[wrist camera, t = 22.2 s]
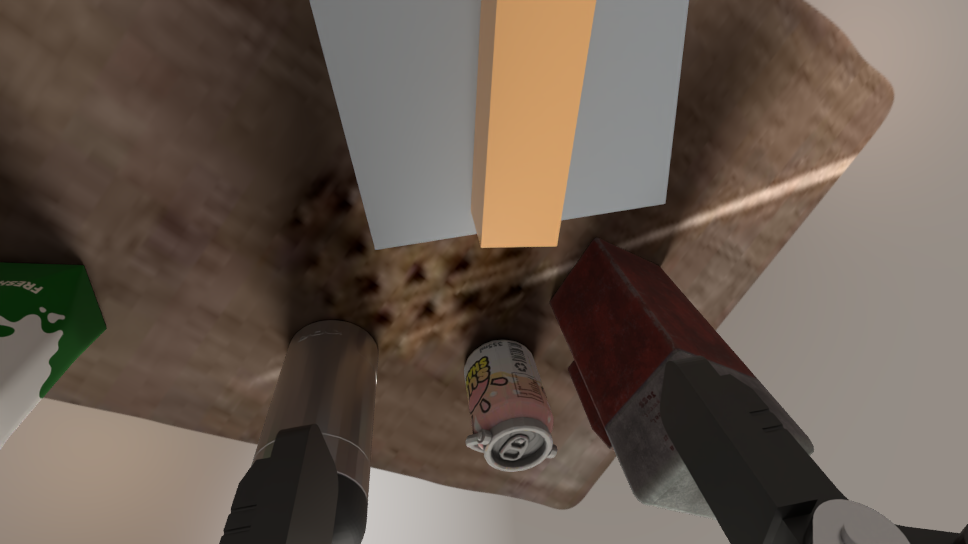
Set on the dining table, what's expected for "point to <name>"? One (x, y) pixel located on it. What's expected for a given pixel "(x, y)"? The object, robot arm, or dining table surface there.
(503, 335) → the dining table surface
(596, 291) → the decanter
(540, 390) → the beverage can
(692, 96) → the dining table surface
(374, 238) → the lid
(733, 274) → the dining table surface
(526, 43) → the light orange bar
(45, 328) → the milk carton
